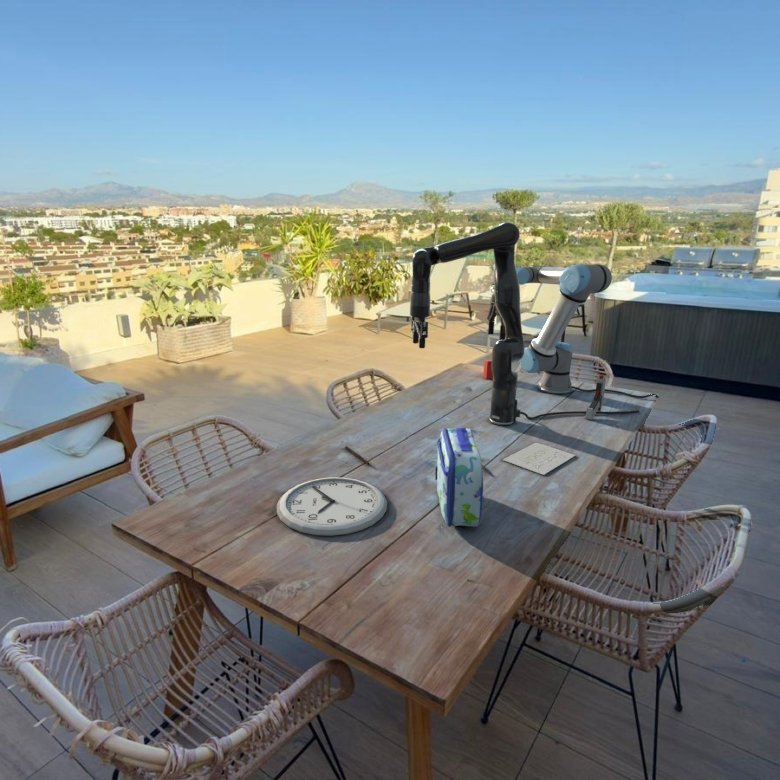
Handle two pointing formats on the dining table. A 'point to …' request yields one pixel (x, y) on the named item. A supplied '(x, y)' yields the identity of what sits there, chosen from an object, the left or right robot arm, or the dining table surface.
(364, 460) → the brown thin stick
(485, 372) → the brick
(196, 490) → the dining table surface
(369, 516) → the wall clock
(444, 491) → the lunch box
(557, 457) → the invitation card
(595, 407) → the toy gun
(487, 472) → the fork
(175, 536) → the dining table surface
